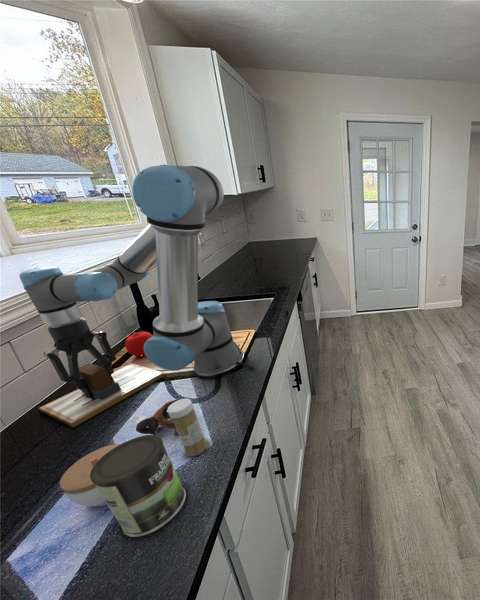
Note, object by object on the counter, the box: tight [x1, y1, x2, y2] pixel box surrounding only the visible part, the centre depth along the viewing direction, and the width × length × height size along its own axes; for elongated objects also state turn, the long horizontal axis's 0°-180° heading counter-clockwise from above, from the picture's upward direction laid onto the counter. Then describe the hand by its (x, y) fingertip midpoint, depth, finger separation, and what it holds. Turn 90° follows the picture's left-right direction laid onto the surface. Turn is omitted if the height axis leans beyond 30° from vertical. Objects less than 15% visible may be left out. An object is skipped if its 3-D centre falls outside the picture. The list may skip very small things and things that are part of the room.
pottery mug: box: [135, 398, 196, 437], centre depth 80 cm, size 12×10×8 cm
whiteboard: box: [38, 362, 165, 428], centre depth 97 cm, size 18×24×2 cm
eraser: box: [79, 362, 121, 400], centre depth 94 cm, size 11×5×8 cm, turn 67°
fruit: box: [124, 331, 153, 358], centre depth 117 cm, size 9×9×10 cm
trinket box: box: [59, 443, 121, 508], centre depth 64 cm, size 11×11×9 cm
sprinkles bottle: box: [167, 398, 208, 457], centre depth 72 cm, size 5×5×13 cm
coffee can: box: [90, 434, 187, 538], centre depth 59 cm, size 10×10×14 cm
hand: (101, 389), depth 96 cm, fingers closed on eraser, 5 cm apart
